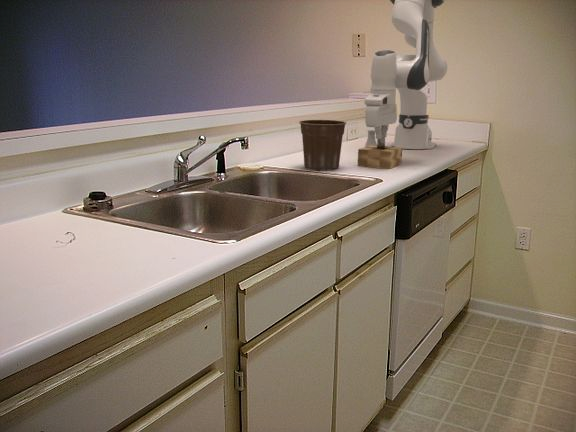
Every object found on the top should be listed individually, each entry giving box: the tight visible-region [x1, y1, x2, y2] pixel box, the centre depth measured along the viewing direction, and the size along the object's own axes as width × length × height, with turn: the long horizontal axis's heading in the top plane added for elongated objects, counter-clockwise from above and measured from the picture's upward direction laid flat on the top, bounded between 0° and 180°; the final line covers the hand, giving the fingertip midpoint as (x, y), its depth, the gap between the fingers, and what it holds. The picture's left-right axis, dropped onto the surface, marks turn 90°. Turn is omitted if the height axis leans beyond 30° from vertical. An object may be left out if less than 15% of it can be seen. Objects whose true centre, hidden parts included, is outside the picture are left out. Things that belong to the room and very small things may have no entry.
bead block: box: [357, 145, 404, 170], centre depth 205 cm, size 12×12×6 cm
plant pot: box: [298, 119, 347, 171], centre depth 198 cm, size 16×16×16 cm
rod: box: [376, 125, 386, 150], centre depth 203 cm, size 3×3×14 cm
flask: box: [364, 129, 377, 147], centre depth 226 cm, size 7×7×10 cm
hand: (381, 138), depth 203 cm, fingers closed on rod, 3 cm apart
